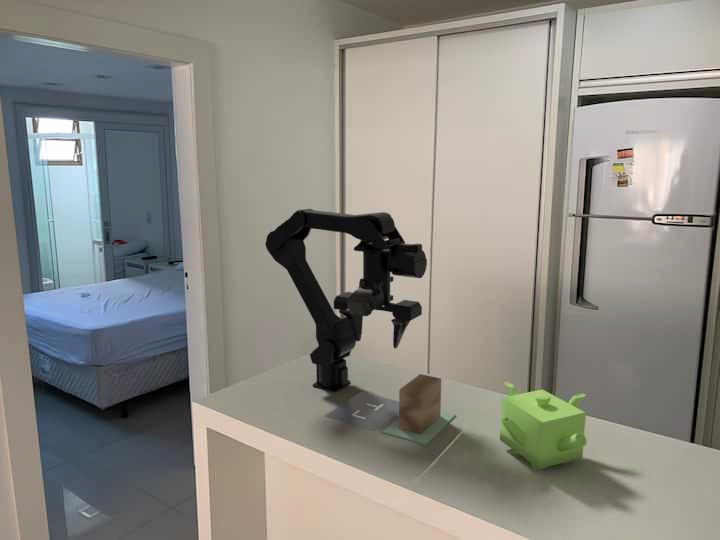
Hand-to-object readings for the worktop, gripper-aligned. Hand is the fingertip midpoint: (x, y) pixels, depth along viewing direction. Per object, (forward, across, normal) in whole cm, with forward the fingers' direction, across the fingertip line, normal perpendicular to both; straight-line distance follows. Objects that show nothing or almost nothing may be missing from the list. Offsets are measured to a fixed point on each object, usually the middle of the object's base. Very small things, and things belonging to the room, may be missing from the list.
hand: (376, 344), depth 121 cm
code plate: (+12, +2, -7) cm, 14 cm away
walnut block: (+12, +14, -7) cm, 19 cm away
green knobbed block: (+12, +37, -6) cm, 39 cm away
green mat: (+12, +14, -7) cm, 20 cm away
